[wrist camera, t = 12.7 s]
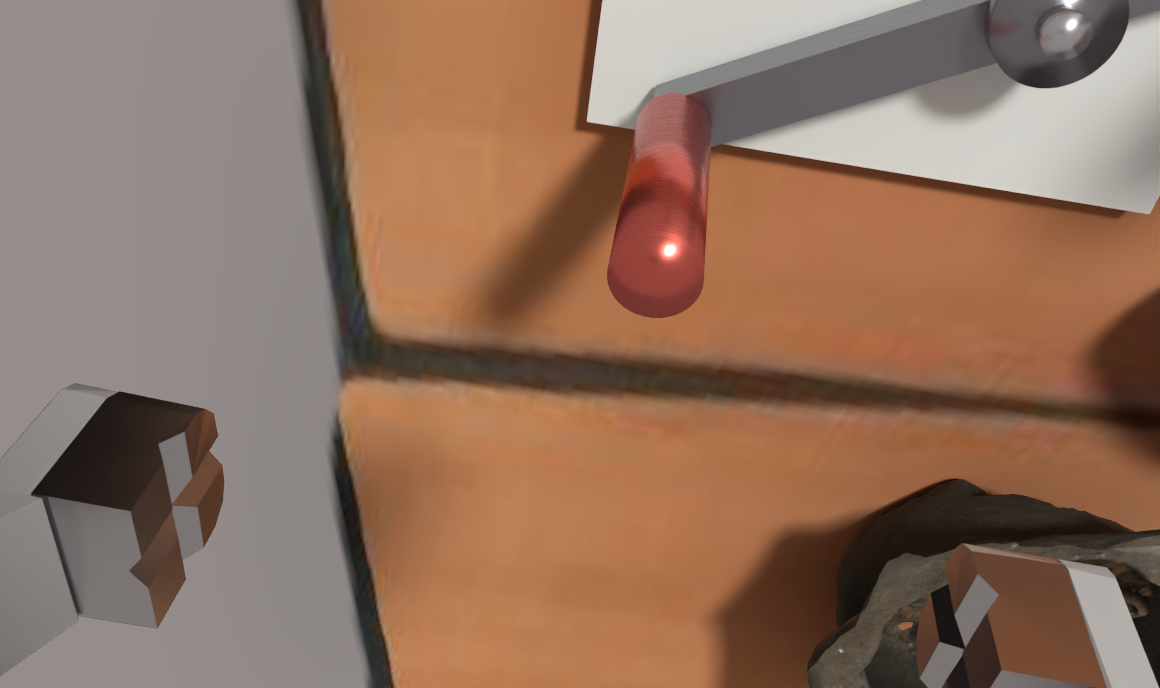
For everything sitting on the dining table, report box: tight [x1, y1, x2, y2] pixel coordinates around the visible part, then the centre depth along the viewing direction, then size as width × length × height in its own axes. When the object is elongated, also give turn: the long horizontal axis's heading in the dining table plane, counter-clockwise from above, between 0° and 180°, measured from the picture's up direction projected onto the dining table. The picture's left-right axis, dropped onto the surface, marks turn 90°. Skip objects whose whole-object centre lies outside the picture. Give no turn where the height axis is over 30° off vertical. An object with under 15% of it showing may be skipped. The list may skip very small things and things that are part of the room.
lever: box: [607, 0, 1160, 318], centre depth 33 cm, size 22×4×13 cm, turn 112°
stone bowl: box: [807, 479, 1160, 688], centre depth 54 cm, size 25×25×9 cm
